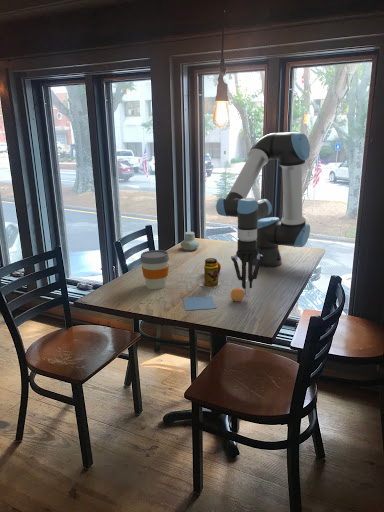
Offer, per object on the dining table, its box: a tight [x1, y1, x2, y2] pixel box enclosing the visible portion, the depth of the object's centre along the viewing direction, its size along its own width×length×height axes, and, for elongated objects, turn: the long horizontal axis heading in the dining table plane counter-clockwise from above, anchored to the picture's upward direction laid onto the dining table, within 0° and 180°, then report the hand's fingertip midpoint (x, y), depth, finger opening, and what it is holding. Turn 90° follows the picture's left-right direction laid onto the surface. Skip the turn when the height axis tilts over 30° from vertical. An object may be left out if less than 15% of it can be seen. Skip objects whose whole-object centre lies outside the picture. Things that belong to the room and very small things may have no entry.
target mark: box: [182, 295, 217, 312], centre depth 161 cm, size 12×12×1 cm
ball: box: [230, 287, 245, 302], centre depth 161 cm, size 6×6×6 cm
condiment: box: [197, 257, 222, 289], centre depth 179 cm, size 7×8×12 cm
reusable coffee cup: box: [140, 249, 170, 290], centre depth 179 cm, size 13×13×15 cm
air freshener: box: [180, 231, 200, 251], centre depth 235 cm, size 11×8×10 cm
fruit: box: [217, 260, 222, 275], centre depth 192 cm, size 8×8×8 cm
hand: (246, 295), depth 161 cm, fingers closed
